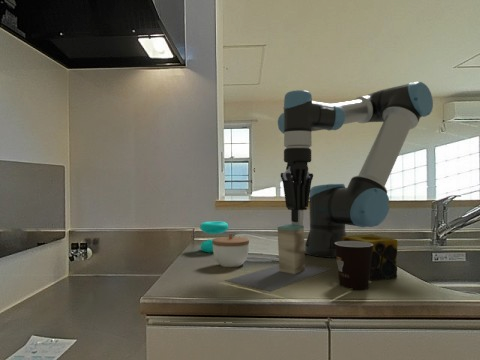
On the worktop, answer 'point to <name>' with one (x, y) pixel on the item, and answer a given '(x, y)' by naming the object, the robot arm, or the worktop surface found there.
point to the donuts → (212, 228)
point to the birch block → (291, 248)
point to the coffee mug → (354, 264)
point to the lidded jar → (230, 250)
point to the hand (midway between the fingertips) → (297, 233)
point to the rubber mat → (275, 277)
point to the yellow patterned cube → (380, 255)
